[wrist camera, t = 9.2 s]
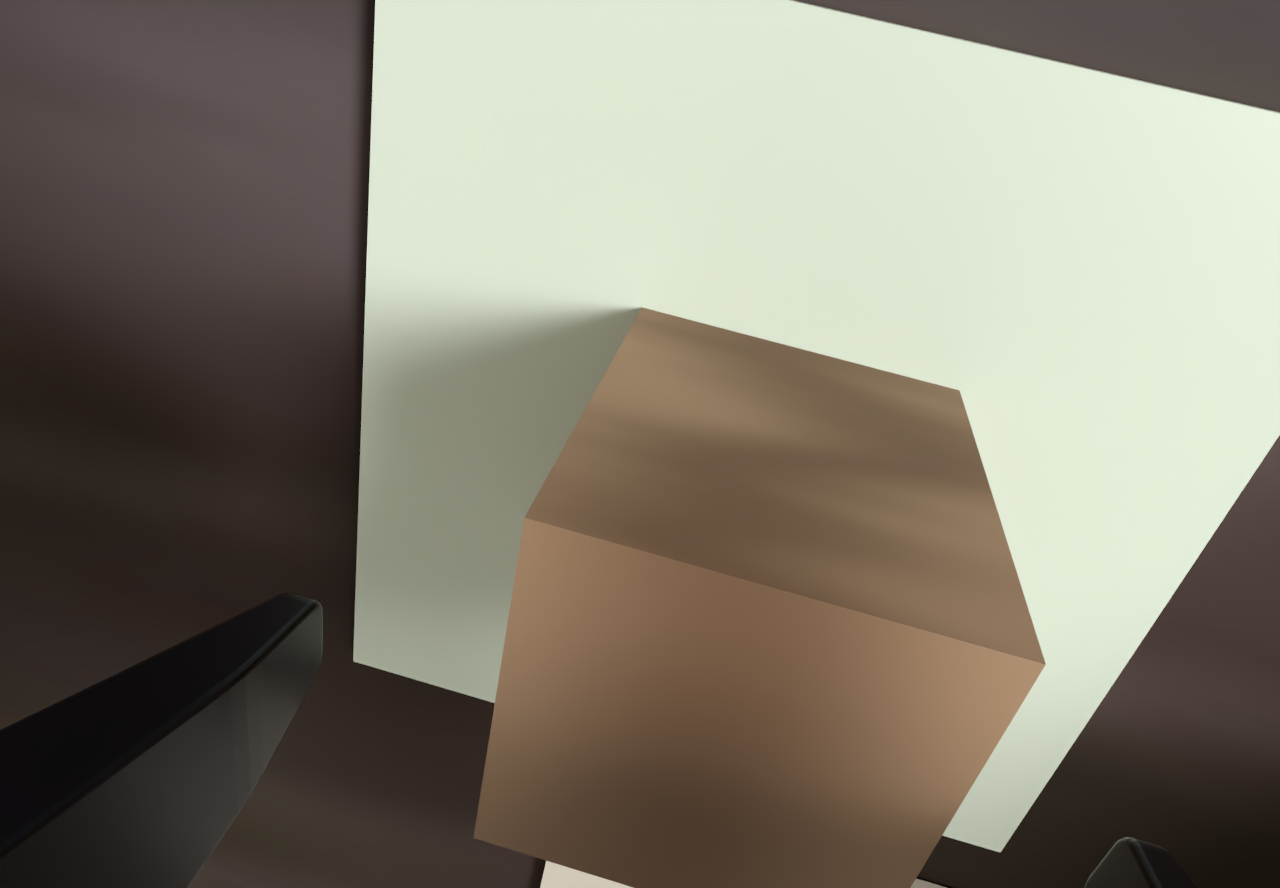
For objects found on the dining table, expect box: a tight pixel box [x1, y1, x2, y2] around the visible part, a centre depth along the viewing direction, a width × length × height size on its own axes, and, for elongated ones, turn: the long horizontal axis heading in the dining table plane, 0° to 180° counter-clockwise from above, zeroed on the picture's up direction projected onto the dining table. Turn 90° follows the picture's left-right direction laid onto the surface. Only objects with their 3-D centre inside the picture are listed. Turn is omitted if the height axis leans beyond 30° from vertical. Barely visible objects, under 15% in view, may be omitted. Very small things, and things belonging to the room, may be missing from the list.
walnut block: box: [474, 307, 1046, 888], centre depth 12 cm, size 5×5×6 cm
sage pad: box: [353, 0, 1280, 853], centre depth 15 cm, size 14×14×1 cm
